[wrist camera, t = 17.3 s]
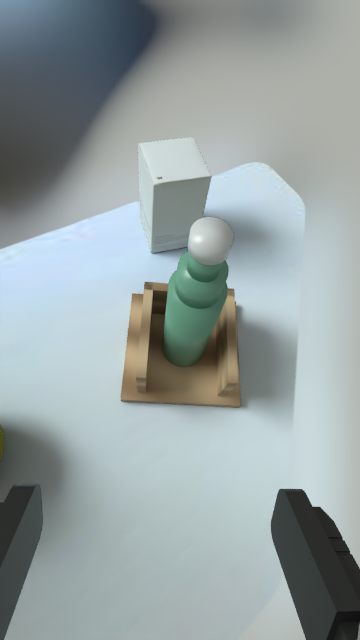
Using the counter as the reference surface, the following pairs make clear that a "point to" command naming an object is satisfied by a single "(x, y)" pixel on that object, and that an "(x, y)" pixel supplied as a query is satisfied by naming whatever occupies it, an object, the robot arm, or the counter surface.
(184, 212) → the supplement box
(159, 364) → the U stand
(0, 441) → the apple
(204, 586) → the counter surface
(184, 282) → the green bottle
